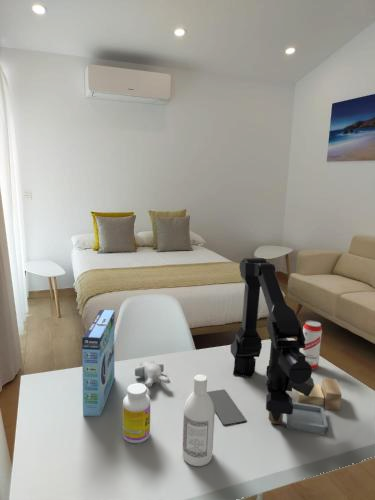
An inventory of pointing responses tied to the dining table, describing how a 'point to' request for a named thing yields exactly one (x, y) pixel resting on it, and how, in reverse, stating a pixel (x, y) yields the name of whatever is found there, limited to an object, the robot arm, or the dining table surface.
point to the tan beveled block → (312, 396)
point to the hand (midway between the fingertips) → (275, 415)
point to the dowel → (273, 419)
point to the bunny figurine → (151, 373)
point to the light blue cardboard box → (98, 362)
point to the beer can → (312, 342)
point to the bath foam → (198, 424)
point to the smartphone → (226, 408)
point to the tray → (307, 418)
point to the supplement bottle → (136, 414)
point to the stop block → (331, 394)
